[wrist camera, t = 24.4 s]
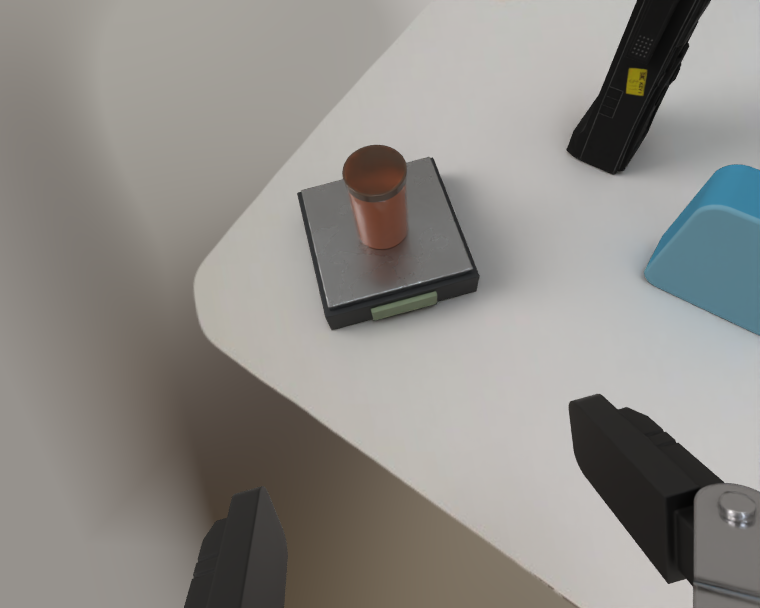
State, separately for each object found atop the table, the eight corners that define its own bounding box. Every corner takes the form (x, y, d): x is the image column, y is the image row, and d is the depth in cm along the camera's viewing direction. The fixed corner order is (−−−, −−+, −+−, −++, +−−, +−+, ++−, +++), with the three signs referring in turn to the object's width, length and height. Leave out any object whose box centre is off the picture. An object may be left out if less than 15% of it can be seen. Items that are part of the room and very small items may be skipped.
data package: (792, 303, 43) (918, 227, 32) (776, 344, 41) (902, 280, 31) (656, 242, 46) (727, 155, 35) (637, 279, 45) (705, 200, 34)
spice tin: (362, 256, 44) (350, 203, 37) (350, 212, 46) (336, 153, 39) (416, 242, 44) (414, 186, 37) (401, 198, 46) (397, 137, 39)
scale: (332, 335, 45) (326, 323, 42) (303, 210, 51) (297, 192, 48) (478, 295, 46) (481, 281, 43) (432, 176, 52) (433, 156, 49)
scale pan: (329, 311, 43) (328, 307, 42) (302, 195, 48) (300, 190, 48) (472, 272, 43) (473, 268, 43) (429, 161, 49) (429, 156, 48)
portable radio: (614, 185, 49) (778, -105, 27) (559, 161, 51) (667, -131, 28) (647, 133, 52) (823, -175, 29) (593, 112, 53) (718, -195, 31)
